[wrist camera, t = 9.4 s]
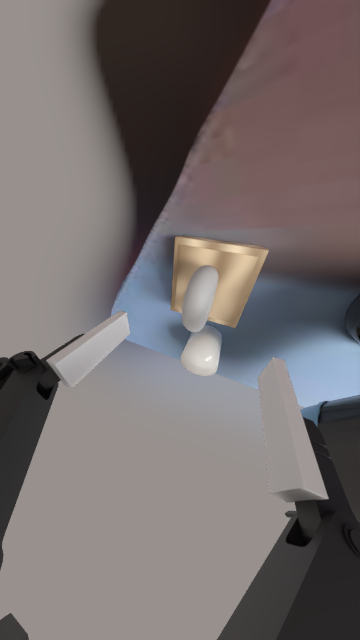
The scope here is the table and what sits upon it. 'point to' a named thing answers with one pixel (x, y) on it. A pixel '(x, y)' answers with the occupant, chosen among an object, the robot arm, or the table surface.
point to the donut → (199, 298)
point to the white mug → (202, 351)
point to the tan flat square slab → (233, 274)
